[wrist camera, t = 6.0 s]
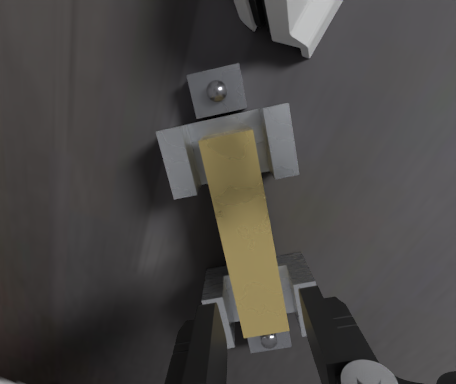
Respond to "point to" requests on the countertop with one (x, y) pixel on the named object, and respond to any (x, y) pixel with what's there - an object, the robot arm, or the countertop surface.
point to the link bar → (245, 230)
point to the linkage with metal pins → (269, 161)
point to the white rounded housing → (290, 20)
